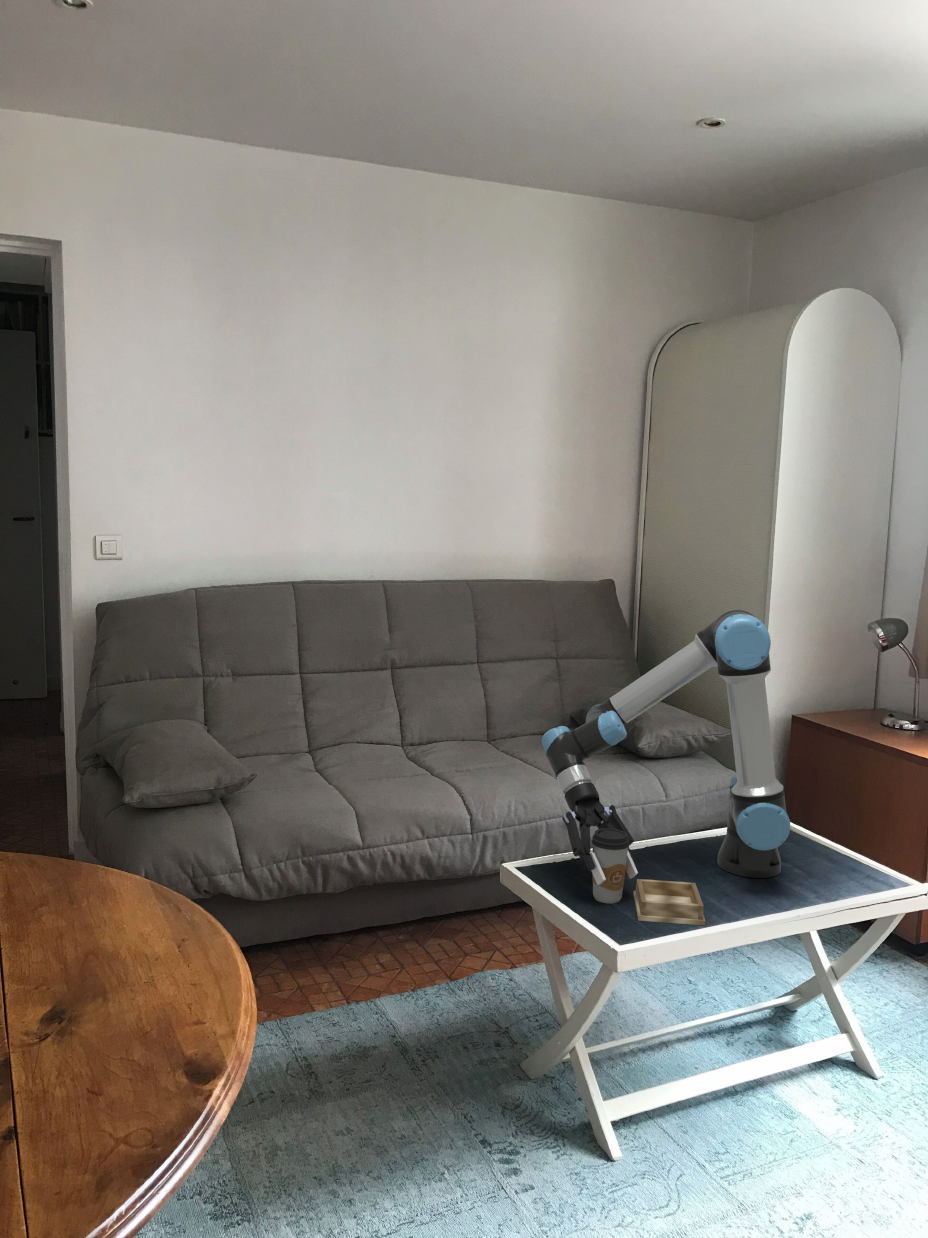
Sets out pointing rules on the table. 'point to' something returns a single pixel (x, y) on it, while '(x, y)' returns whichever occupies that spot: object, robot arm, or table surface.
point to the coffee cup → (610, 863)
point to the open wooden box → (668, 902)
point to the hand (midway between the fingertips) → (618, 879)
